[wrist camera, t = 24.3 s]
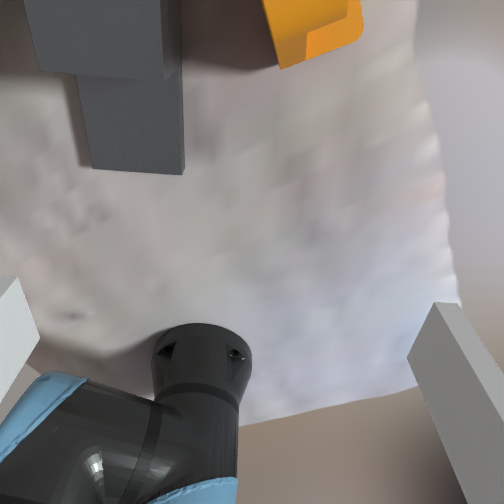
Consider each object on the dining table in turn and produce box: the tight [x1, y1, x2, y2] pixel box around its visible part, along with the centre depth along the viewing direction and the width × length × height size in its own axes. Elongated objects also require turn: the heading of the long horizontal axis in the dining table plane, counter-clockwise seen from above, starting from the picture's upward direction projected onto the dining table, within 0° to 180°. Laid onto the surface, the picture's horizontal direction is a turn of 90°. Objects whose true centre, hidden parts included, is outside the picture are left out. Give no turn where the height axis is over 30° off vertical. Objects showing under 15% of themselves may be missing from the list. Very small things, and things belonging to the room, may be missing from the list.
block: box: [23, 0, 185, 175], centre depth 30 cm, size 19×9×8 cm, turn 176°
